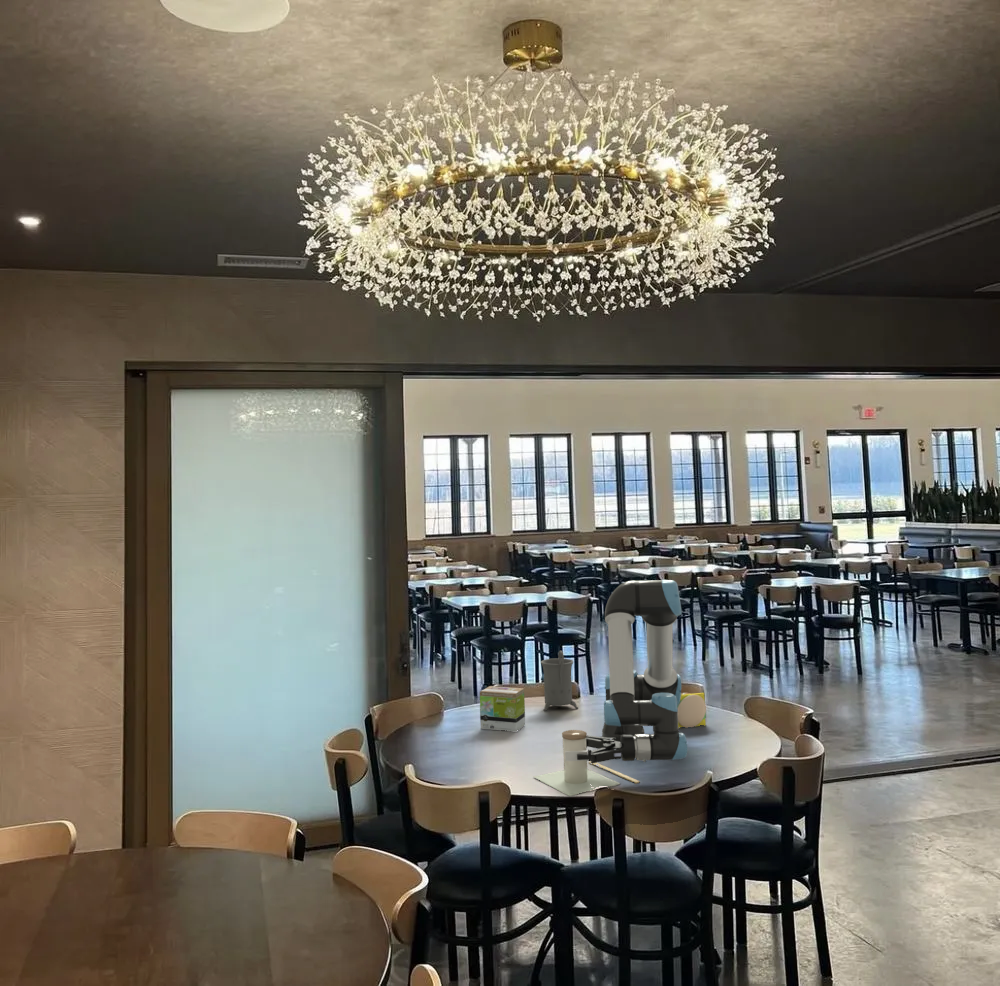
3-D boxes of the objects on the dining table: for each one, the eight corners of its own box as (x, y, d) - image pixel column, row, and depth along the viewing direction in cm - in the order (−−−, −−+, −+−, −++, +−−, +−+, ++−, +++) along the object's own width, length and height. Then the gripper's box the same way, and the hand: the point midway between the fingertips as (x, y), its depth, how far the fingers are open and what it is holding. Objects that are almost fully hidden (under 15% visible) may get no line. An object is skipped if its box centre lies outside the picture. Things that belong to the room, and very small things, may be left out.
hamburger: (697, 721, 305) (696, 689, 305) (708, 726, 297) (707, 694, 297) (669, 724, 302) (667, 692, 302) (678, 729, 294) (677, 697, 294)
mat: (533, 777, 245) (533, 776, 245) (581, 767, 254) (581, 766, 254) (569, 796, 228) (569, 795, 228) (620, 784, 236) (620, 783, 236)
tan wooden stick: (588, 763, 258) (588, 761, 258) (592, 762, 258) (592, 761, 259) (635, 783, 237) (635, 782, 237) (639, 782, 237) (639, 781, 238)
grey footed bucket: (537, 704, 341) (534, 646, 342) (570, 702, 344) (568, 643, 344) (547, 715, 323) (544, 653, 323) (582, 712, 325) (580, 650, 326)
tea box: (479, 730, 303) (478, 690, 304) (490, 723, 313) (488, 685, 313) (516, 732, 298) (515, 692, 298) (526, 725, 307) (524, 687, 308)
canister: (559, 778, 242) (557, 732, 243) (579, 774, 246) (577, 728, 246) (572, 785, 236) (570, 737, 236) (593, 780, 239) (591, 733, 240)
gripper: (641, 773, 228) (567, 775, 229) (629, 748, 253) (562, 750, 254) (640, 746, 228) (566, 748, 229) (628, 724, 253) (561, 726, 254)
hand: (563, 749), depth 241 cm, fingers open, 13 cm apart
